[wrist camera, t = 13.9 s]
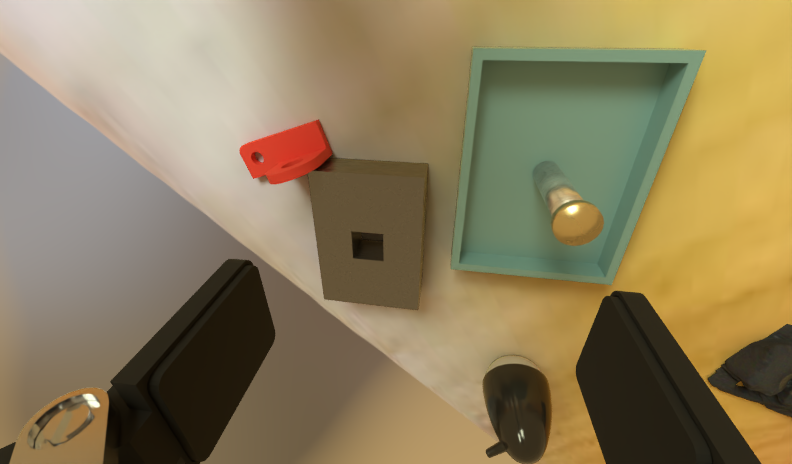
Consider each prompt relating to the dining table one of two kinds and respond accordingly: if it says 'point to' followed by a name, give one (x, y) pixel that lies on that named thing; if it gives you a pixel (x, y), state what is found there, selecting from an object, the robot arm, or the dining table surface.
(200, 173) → the dining table surface
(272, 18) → the dining table surface
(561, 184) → the pin
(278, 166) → the bracket
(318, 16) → the dining table surface
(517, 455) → the pump dispenser
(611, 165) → the tray
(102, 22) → the dining table surface
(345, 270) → the grey-brown socket block
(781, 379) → the dark slate chunk
